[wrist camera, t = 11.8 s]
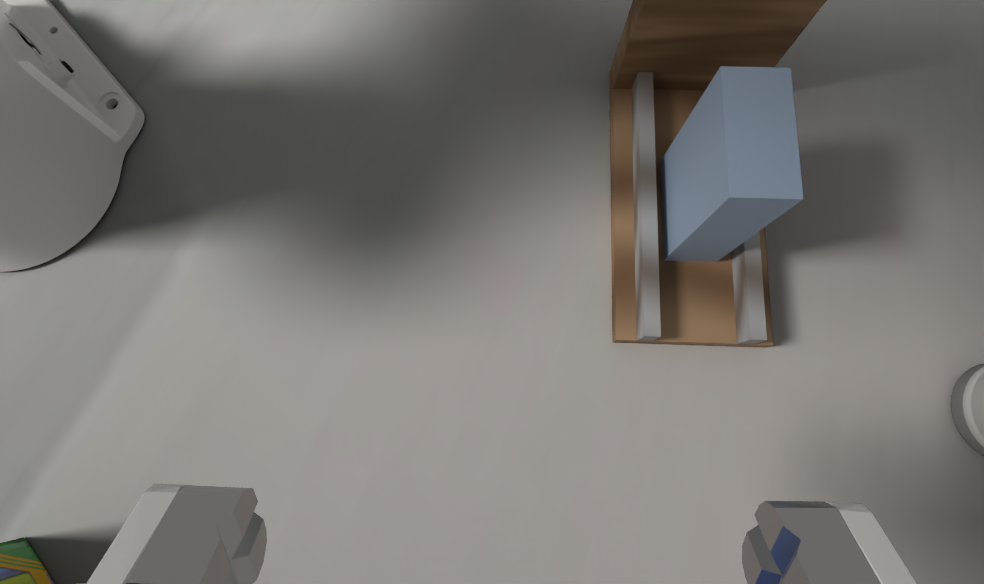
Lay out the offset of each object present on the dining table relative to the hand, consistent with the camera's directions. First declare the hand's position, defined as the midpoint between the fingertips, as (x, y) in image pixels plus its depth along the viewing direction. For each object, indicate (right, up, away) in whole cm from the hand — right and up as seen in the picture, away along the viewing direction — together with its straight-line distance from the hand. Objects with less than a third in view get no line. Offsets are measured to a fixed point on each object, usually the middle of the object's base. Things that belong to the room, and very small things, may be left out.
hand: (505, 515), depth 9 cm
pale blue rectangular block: (+13, +9, +29) cm, 33 cm away
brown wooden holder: (+13, +10, +31) cm, 35 cm away
